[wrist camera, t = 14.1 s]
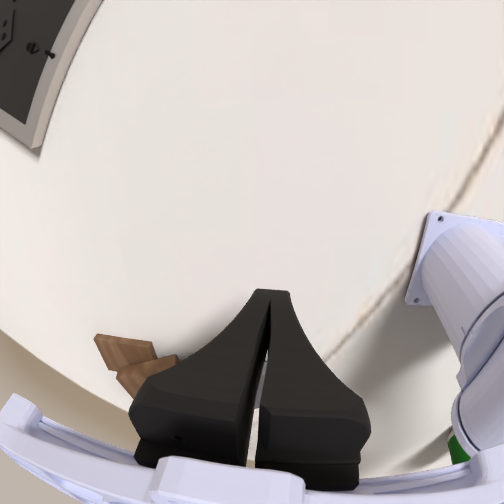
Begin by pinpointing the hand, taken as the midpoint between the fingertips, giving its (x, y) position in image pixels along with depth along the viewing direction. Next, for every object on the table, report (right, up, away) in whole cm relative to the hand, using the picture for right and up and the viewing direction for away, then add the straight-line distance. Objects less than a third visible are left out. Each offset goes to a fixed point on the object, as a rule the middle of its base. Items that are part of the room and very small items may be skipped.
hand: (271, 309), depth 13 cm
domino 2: (-8, -10, +17) cm, 21 cm away
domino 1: (-11, -9, +17) cm, 22 cm away
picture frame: (-24, +23, +4) cm, 33 cm away
